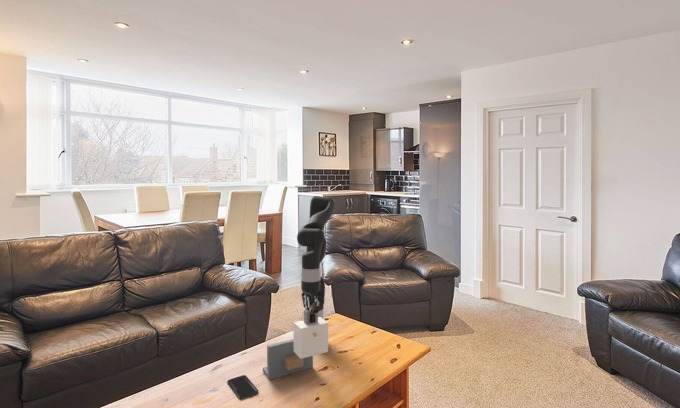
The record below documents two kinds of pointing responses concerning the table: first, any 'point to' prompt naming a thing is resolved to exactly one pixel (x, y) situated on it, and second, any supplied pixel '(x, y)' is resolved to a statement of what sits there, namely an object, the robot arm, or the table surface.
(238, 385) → the phone
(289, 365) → the wall board
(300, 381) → the table surface
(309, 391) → the table surface
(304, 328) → the cabinet
